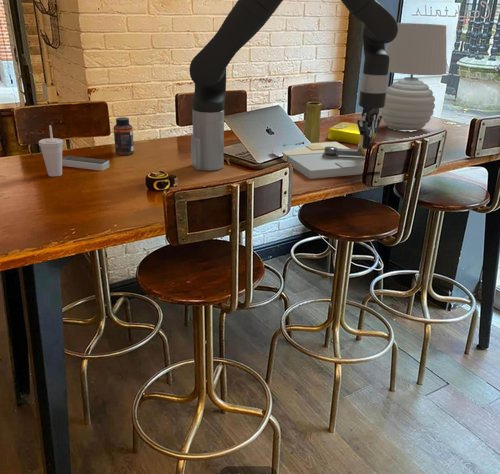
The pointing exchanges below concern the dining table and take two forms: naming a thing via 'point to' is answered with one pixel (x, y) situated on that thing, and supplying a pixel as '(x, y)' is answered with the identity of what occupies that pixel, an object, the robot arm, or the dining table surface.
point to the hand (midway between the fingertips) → (366, 148)
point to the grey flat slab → (323, 161)
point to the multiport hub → (85, 163)
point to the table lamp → (414, 63)
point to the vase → (312, 121)
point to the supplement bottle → (123, 137)
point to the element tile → (345, 133)
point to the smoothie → (52, 154)
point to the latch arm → (347, 150)
